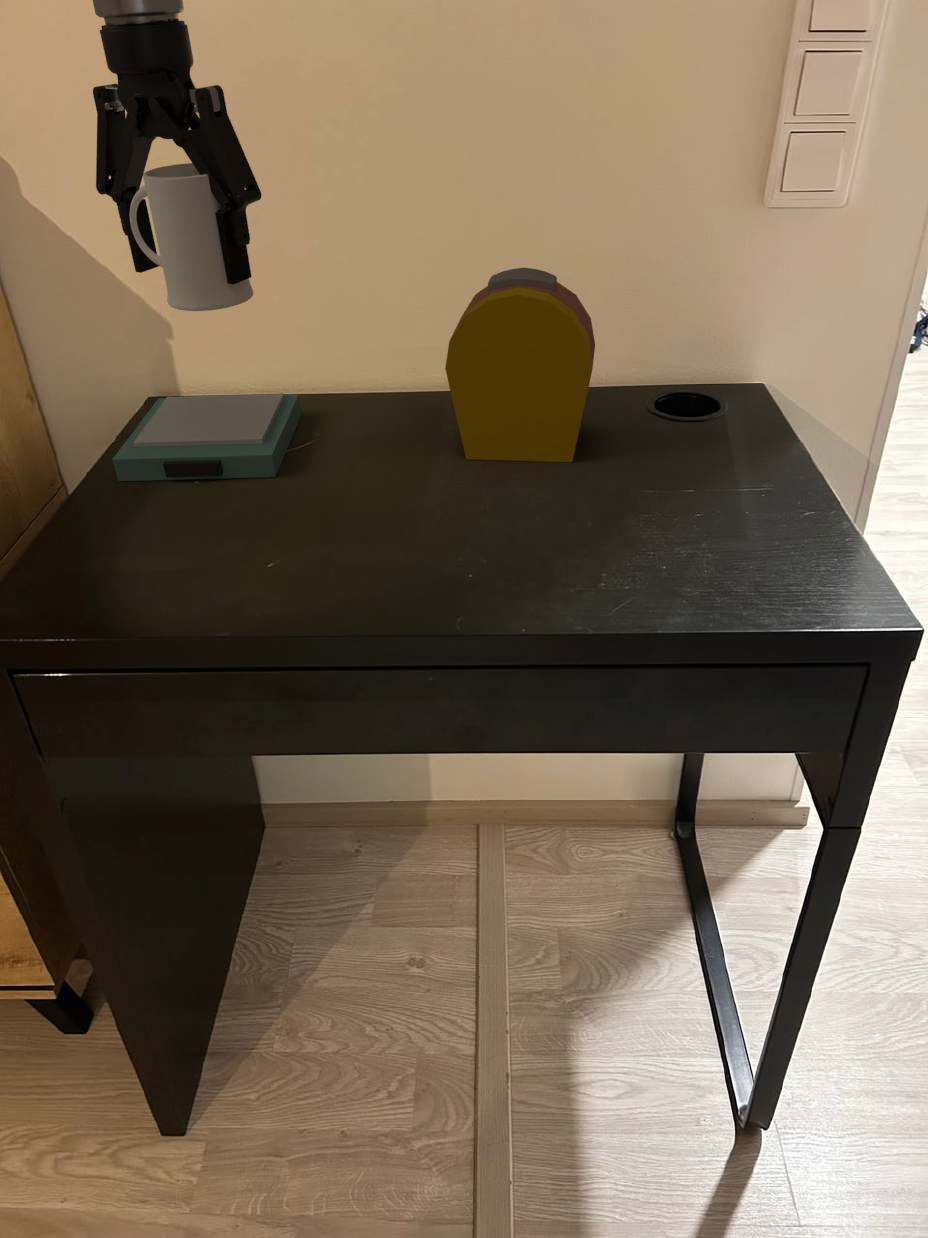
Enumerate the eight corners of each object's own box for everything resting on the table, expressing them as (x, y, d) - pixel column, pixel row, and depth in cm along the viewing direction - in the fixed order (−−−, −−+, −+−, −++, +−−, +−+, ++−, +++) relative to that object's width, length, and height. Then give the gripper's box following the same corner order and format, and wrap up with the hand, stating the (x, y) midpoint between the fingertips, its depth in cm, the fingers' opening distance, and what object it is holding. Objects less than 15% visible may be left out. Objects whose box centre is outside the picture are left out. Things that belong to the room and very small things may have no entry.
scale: (116, 484, 101) (108, 456, 100) (163, 418, 116) (157, 393, 114) (274, 479, 101) (269, 451, 99) (301, 414, 115) (298, 388, 113)
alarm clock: (592, 431, 108) (598, 262, 97) (588, 462, 101) (595, 285, 91) (461, 428, 110) (454, 263, 99) (450, 458, 103) (440, 285, 93)
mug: (124, 304, 96) (93, 175, 89) (178, 281, 103) (153, 159, 96) (220, 314, 92) (194, 180, 85) (270, 290, 98) (250, 162, 91)
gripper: (276, 13, 81) (310, 275, 94) (78, 18, 91) (132, 255, 104) (218, 19, 76) (262, 296, 88) (14, 24, 86) (80, 273, 98)
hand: (192, 274), depth 96 cm, fingers closed on mug, 11 cm apart
